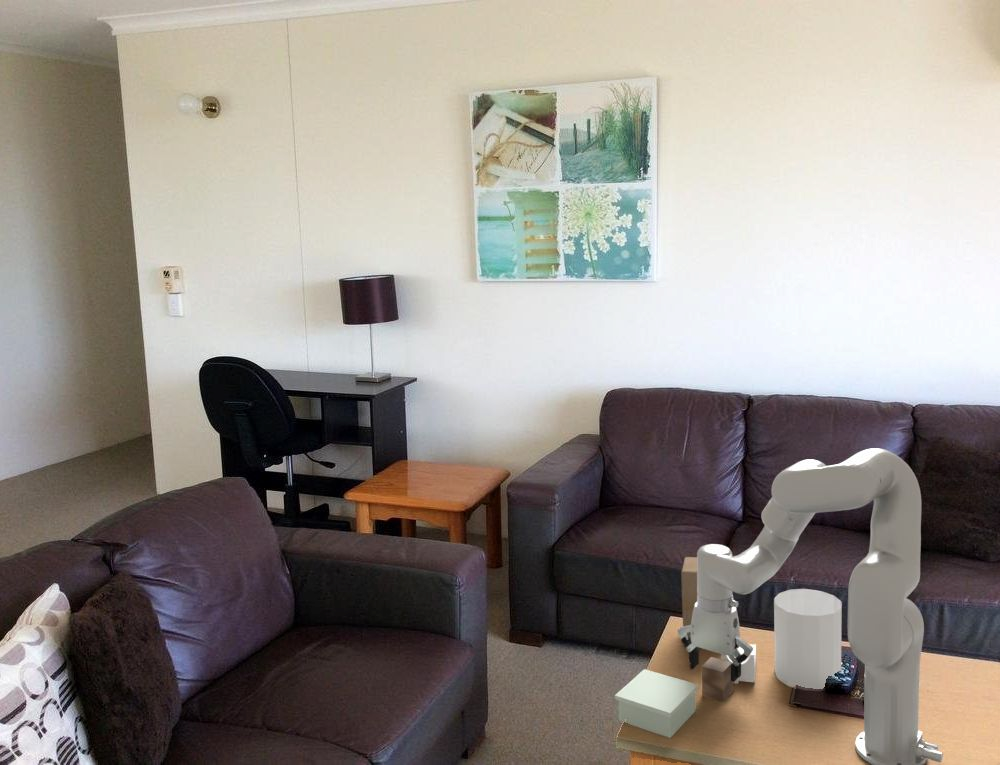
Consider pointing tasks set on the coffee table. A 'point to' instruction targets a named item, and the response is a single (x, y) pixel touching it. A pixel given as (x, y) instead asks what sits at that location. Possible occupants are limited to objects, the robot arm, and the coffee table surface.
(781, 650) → the container
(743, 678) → the bracket
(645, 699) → the sage box
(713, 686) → the walnut block
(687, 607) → the wooden block
